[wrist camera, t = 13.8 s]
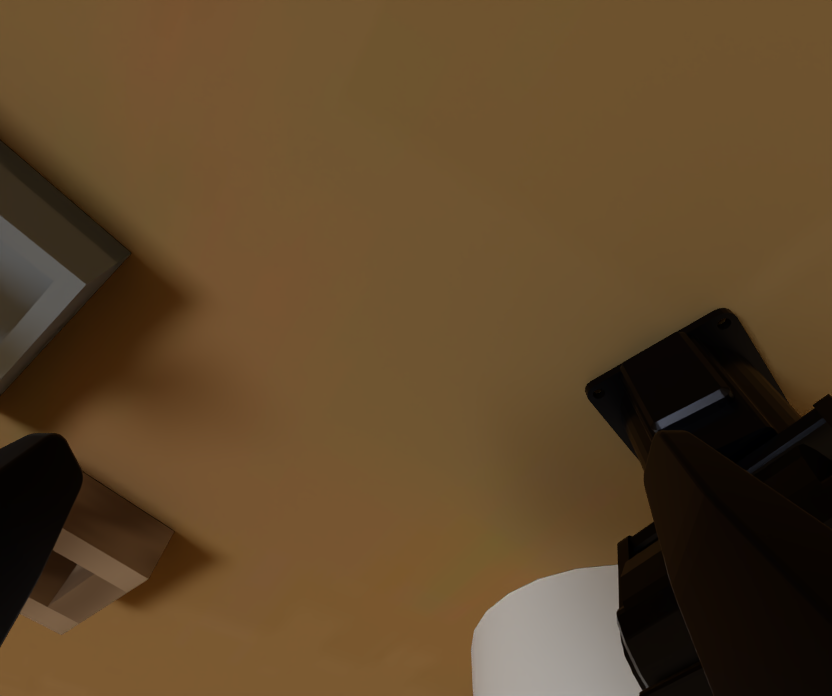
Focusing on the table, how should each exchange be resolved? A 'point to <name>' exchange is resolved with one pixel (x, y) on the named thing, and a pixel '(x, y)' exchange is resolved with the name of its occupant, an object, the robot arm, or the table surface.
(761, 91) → the table surface
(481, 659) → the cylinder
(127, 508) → the socket block
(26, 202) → the tray
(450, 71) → the table surface
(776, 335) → the table surface
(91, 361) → the table surface
